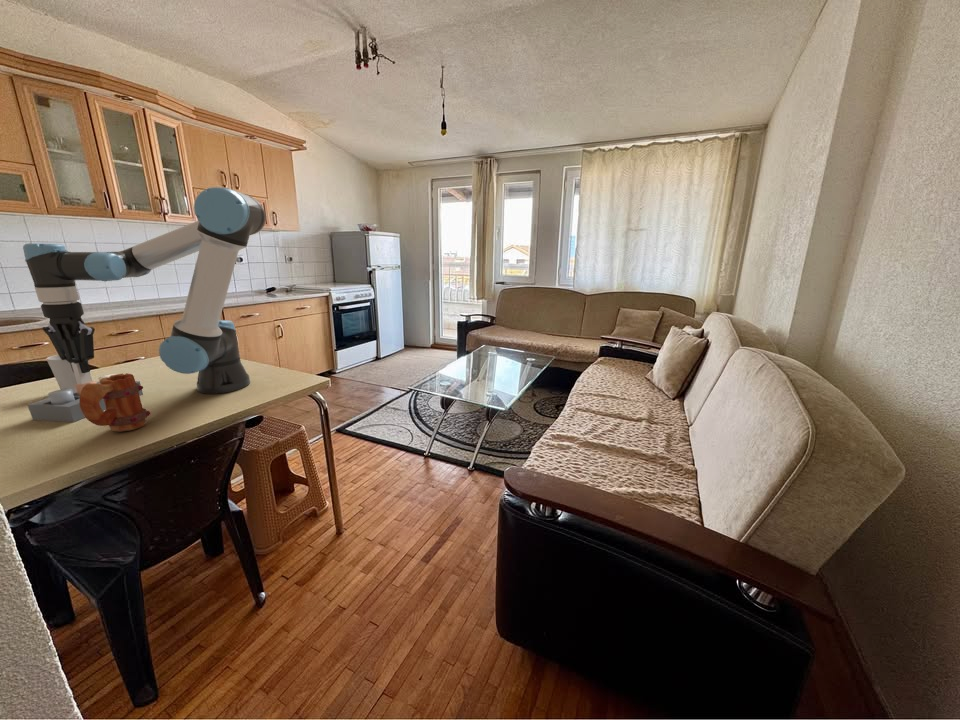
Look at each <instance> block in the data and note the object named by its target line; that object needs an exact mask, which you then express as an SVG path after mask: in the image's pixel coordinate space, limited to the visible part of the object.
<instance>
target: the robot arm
mask: <svg viewBox="0 0 960 720" xmlns="http://www.w3.org/2000/svg"><path fill="white" fill-rule="evenodd" d="M193 211H194V215H195V217H196V218H197V221H194V222H191V223H189V224H186V225H184V226H181V227H179V228H176V229H173V230H171V231H168V232H166V233H163V234H160V235H159V236H156V237H153V238H150V239H148V240H145V241H144V242H140V243H138V244H135V245H134V246H132V247H128V248H126V249H124V250H121V251H89V252H88V251H67V249H66V247H65V245H63V244H61V243H39V242H38V243H35V242H34V243H32V242H31V243H25V244H24V245H23V246H22V250H23V254H24V258H25V259H24V261H25V263H26V264H27V268H28V270H29V273H30V276H31V278H32V281H33V285H34V289H35V294H36V296H37V301H38V302H39V303H41V305H40V308H41V312H42V314H43V317H44V318H46V319H49V320H48V321H49V325H48V326H44V327H42V330H43V332H44V333H45V334H46V335H47V337H49V340H50V341H51V343H52V345H53V347H54V349H55V351H56V353H57V355H59V356H60V358H61V359H62V360H67V361H68V362H69V363H70V365H71V368H72V371H73V372H74V374H75V377H76V381H77V384H78V385H83V384H86V383H90V382H93V381H94V380H93V378H92V376H91V368H90V364H89V361H91V360H93V359H94V358H95V350H94V348H95V347H94V334H95V331H96V329H95V327H93V326H91V327H89V326H88V325H86V324H85V322H84V320H83V319H82V316H84V314H85V312H84V308H83V305H82V302H80V301H79V300H80V299H81V298H80V296H79V292H78V289H77V284H76V281H96V282H97V281H99V282H112V281H120V280H122V279H125V278H140V277H144V276H146V275H148V274H150V272H151V271H152V270H154V269H158V268H160V267H161V266H164V265H167V264H170V263H172V262H175V261H177V260H179V259H181V258H185V257H187V256H190V255H192V254H195V253H197V252H198V253H197V254H198V255H197V259H196V262H195V267H194V270H193V274H192V278H191V280H190V281H191V282H190V286H189V291H188V294H187V297H186V302H185V306H184V309H183V313H182V317H181V318H180V319H177V320H175V321H174V322H173V324H172V329H171V332H170V333H171V334H170V336H168V337H167V338H165V339H164V340H163V341H162V342H161V343H160V344H159V347H158V354H159V357H160V360H161V361H162V362H163V363H164V364H165V366H166V367H167V368H168V369H171V370H172V371H173V372H176V373H180V374H182V375H183V374H184V375H191V374H196V373H197V372H198V375H197V381H196V389H197V392H199V393H200V394H205V395H207V394H208V395H209V394H210V395H212V394H213V395H214V394H215V395H216V394H224V393H230V392H234V391H238V390H241V389H244V388H245V387H247V386H248V385H250V383H251V378H250V375H249V374H248V372H247V370H246V369H245V367H244V366H243V363H242V362H241V361H242V360H241V356H240V349H239V343H238V338H237V329H236V327H235V323H234V322H233V321H232V320H229V319H228V320H227V319H221V316H222V312H223V309H224V306H225V305H224V304H225V301H226V298H227V294H228V291H229V288H230V283H231V280H232V276H233V272H234V270H235V264H236V262H237V258H238V255H239V251H240V250H242V249H245V248H247V246H248V243H249V239H250V236H253V235H256V234H258V233H259V232H261V231H262V229H263V228H264V227H265V224H266V220H267V218H266V213H265V212H266V211H265V209H264V208H263V206H262V204H261V203H260V202H259V201H258V200H257V199H255V198H254V197H253V196H251V195H249V194H246V193H242V192H239V191H237V190H234V189H230V188H229V187H220V186H214V187H213V186H212V187H208V188H207V189H204V190H202V191H201V192H200V193H199V194H198V195H197V196H196V198H195V201H194V204H193Z"/></svg>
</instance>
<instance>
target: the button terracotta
mask: <svg viewBox="0 0 960 720" xmlns="http://www.w3.org/2000/svg"><path fill="white" fill-rule="evenodd" d="M92 381H93V382H90V383H97V382H98V381H95V380H92ZM86 384H89V383H86ZM86 384H83V385H78V384H76V385H75V388H76V391H77V394H78V396H80V394H81V391H82V388H83V387H84V386H85V385H86Z"/></svg>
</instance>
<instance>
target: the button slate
mask: <svg viewBox="0 0 960 720" xmlns="http://www.w3.org/2000/svg"><path fill="white" fill-rule="evenodd" d="M47 395H48V398H50V401H51V404H52V405H63V404H66V403H69V402H72V401H74V400H75V398H74V395H73V392H72V389H62V390H61V389H57V390H54V391H50V392H48V394H47Z"/></svg>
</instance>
